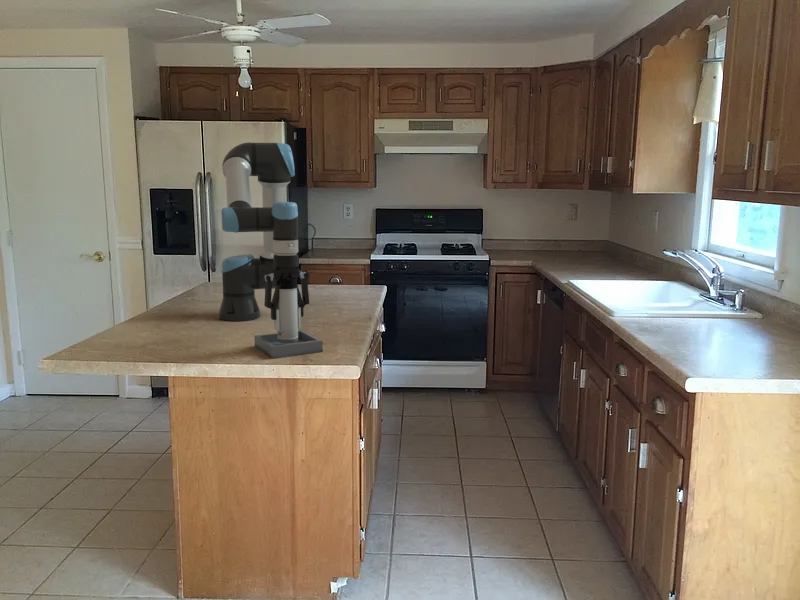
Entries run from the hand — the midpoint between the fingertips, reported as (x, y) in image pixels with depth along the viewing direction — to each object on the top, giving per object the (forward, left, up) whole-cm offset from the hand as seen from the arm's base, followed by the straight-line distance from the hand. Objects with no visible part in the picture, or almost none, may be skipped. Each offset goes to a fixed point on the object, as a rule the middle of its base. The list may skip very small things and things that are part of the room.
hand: (287, 328), depth 201 cm
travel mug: (0, 0, -4) cm, 4 cm away
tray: (0, 0, -7) cm, 7 cm away
